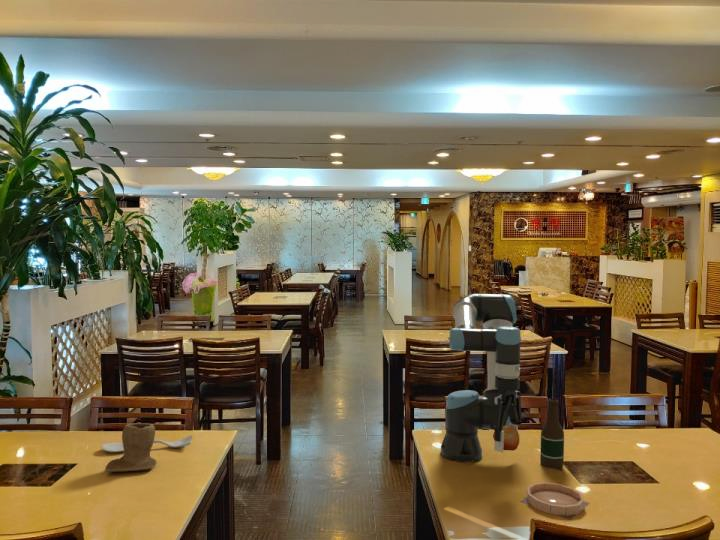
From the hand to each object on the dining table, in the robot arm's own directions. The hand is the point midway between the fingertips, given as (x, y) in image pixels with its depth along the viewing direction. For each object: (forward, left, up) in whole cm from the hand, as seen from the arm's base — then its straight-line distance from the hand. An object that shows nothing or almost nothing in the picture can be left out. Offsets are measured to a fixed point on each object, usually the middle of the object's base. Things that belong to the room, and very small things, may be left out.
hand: (506, 447), depth 165 cm
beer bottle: (+3, +28, -14) cm, 32 cm away
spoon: (-113, -65, -14) cm, 131 cm away
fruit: (0, 0, -1) cm, 1 cm away
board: (+16, +1, -13) cm, 21 cm away
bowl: (+16, +1, -12) cm, 20 cm away
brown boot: (-98, -77, -14) cm, 125 cm away
